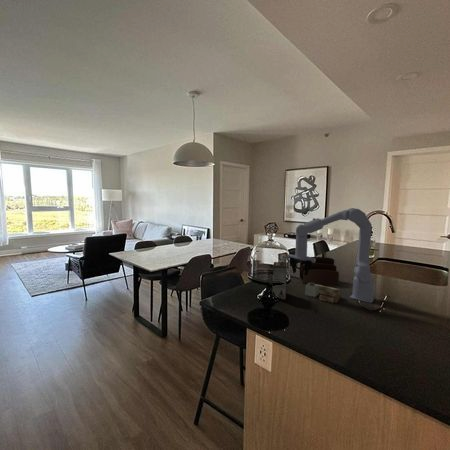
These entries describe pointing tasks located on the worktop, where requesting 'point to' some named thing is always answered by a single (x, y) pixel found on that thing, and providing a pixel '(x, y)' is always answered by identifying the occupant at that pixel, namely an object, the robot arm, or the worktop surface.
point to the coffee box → (280, 279)
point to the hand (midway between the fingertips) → (300, 273)
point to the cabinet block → (312, 289)
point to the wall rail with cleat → (330, 292)
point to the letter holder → (320, 272)
